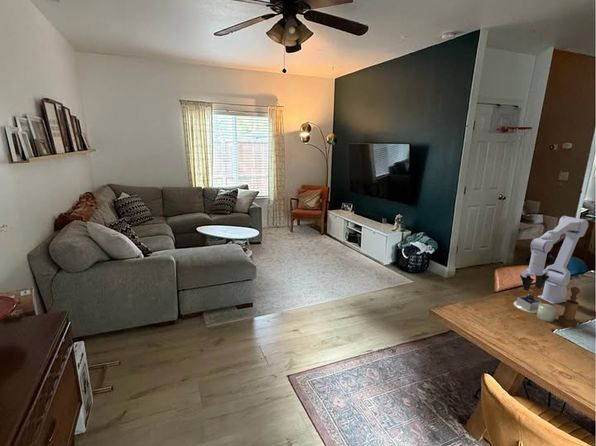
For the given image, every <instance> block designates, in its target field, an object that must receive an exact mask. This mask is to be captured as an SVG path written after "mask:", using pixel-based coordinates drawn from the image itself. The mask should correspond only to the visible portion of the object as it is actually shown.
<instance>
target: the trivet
mask: <svg viewBox="0 0 596 446" xmlns="http://www.w3.org/2000/svg"><path fill="white" fill-rule="evenodd" d="M516 302H517V300H515V301H513V305H514V306H515V307H516V308H517V309H519V310H521V311H523V312H527V313H533V314H537V312H538V310H533V311H528V310H526V309H524V308H523V307H521V306H519V305H517V304H516Z"/></svg>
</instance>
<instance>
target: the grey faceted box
mask: <svg viewBox="0 0 596 446" xmlns="http://www.w3.org/2000/svg"><path fill="white" fill-rule="evenodd" d="M526 296H527V295H525V296H524V295H523V296H522V295H520V294H517V296H516V297H517V298H516V301H517V302H516V304H517V305H519V306H521V307H523V308H524V309H526V310H528V311H533V310H538V308H539V304H543V301H540V300H539V299H536V298H534V299H533V300H531V301H530V303H529V302H528V298H526Z"/></svg>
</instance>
